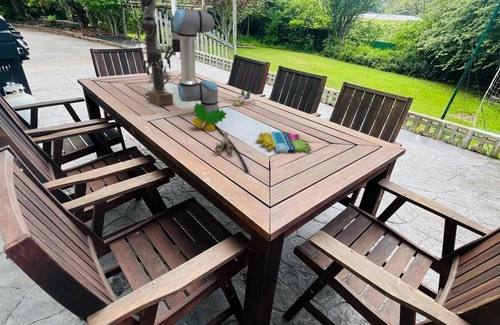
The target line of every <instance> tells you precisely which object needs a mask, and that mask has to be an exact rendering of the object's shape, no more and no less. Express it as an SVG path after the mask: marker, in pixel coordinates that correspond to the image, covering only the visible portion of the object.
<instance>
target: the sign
mask: <svg viewBox="0 0 500 325" xmlns="http://www.w3.org/2000/svg"><path fill="white" fill-rule="evenodd" d="M299 136H300V135H299V134H298V133H296V134H294V133H291V132H287V131H270V132H264V133H263V132H260V133H259V139H258V138H257V139H256V143H257V144H261V148H263V147H264V148H265V149H267V151H268V152H271V151H272V150H273V149H275V152H276V153H283V154H285V153H287V154H288V153H290V154H293V153H296V152H298V153H301V152H305V153H310V151H311V150H312V149H311V148H312V146H309V142H304V141H303V139H302V138H299Z"/></svg>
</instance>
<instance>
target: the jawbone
mask: <svg viewBox="0 0 500 325" xmlns="http://www.w3.org/2000/svg"><path fill="white" fill-rule="evenodd" d="M223 134H224V136H223V140H222V139H221V142H220V144H218V142H215V144H216V146H215V148H214V149H215V152H214V154H215V155H217V156H218V155H220V153H221V152H223V151H224V150H226V152H227V153H228V155H229V156H233V155H234V154H233V153H234V147H233V146H232V145H234V143H232V145H231V144H230V142H229V141H228V139H229V138H228V137H229V136H228V135H229V133H228V131H226V132H223Z"/></svg>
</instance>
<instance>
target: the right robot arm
mask: <svg viewBox="0 0 500 325" xmlns="http://www.w3.org/2000/svg"><path fill="white" fill-rule="evenodd" d="M169 24H170V37H171V38H170V39H171V45H167V49H166V52H165V54H164V57H163V58H164V59H165V60H166V63H167V65H168V68H169V69H170V70H171V58H172V56H173V55H174V53H180V70H181V78H180V79H179V82H178V83H177V84H176V88H177V92H178V96H179V99H180V101H181V102H184V103H185V102H186V103H187V102H200V104H201V106H204V109H206V112H208V113H211V112H212V110H214V111H216V110H217V109H219V111H221V110H220V108H219V102H218V99H219V98H218V97H219V88H218V84H217V83H216V82H215V81H212V80H205V79H204V80H200V81H198V80H197V79H196V51H195V50H196V48H195V46H196V45H195V44H196V43H195V42H196V41H195V40H196V39H197V37H198V34H204V33H209V32H211V31H212V30H214V28H215V26H216V25H215V19H214V17H213V15H212V14H210V13H209V12H207V11H205V10H198V9H197V10H196V9H185V8H177V9H176V10H175V11H174V14H171V15H170V16H169ZM171 49H172V50H171ZM170 51H171V52H170ZM208 113H207V115H208ZM213 124H214V126H215V129H216V130H217V131H219V133H220V134H221V135H222V136H223V137H224V132H223V131H222V130H221V129H220V128H219V127H218V126H217V125H216V123H213ZM228 141H229V144H230V145H232V144H233V142H232V141H231V140H230V139H229V138H228ZM232 148H233V150H235V153H237V155H238V157H239V158H240V161H241V162H242V164H243V167H244V169H245V172H246V173H248V172H249V168H248V167H247V165H246V163H245V160H244V158H243V156H242V155H241V154H240V152H239V150H238V149H237V147H236V146H235V145H234V144H233V145H232Z"/></svg>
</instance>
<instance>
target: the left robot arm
mask: <svg viewBox="0 0 500 325" xmlns="http://www.w3.org/2000/svg"><path fill="white" fill-rule="evenodd" d="M139 3H140V8H141V13H142V19H141V20H140V29H141V30H142V31H143V32H144V34H145V36H144V42H145V53H146V60H144V59H143V60H142V69H143V70H146V75H147V76H150V75H151V74H149V73H150V68H151V73H152V76H151V78H152V77H153V82H152V85H153V91H154V90H163V91H166V90H165V89H166V86H165V84H167V83H168V82H169V78H167V77H168V76H166V81H165V78H163V70H164V68H165V66H164V61H163V54H162V51H161V50H158V47H157V40H156V39H157V37H158V30H157V29H158V24H157V22H156V21H155V11H156V6H157V2H156V0H139Z"/></svg>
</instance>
